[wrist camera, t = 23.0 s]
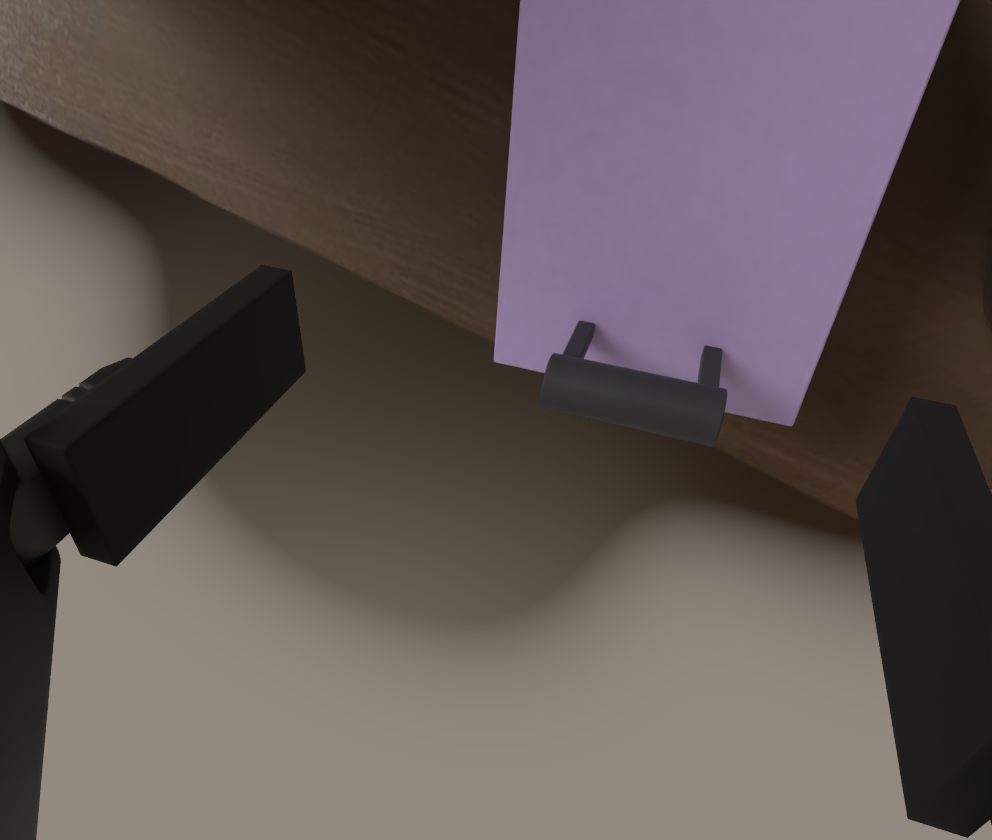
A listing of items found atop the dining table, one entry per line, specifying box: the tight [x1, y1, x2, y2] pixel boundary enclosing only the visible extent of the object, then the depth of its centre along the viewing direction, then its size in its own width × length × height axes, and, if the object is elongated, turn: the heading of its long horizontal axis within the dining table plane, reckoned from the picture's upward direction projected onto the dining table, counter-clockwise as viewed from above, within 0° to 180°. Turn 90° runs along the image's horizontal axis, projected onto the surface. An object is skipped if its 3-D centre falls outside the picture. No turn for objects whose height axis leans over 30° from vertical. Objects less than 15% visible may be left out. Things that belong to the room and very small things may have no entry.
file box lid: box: [494, 0, 960, 447], centre depth 21 cm, size 17×13×6 cm
